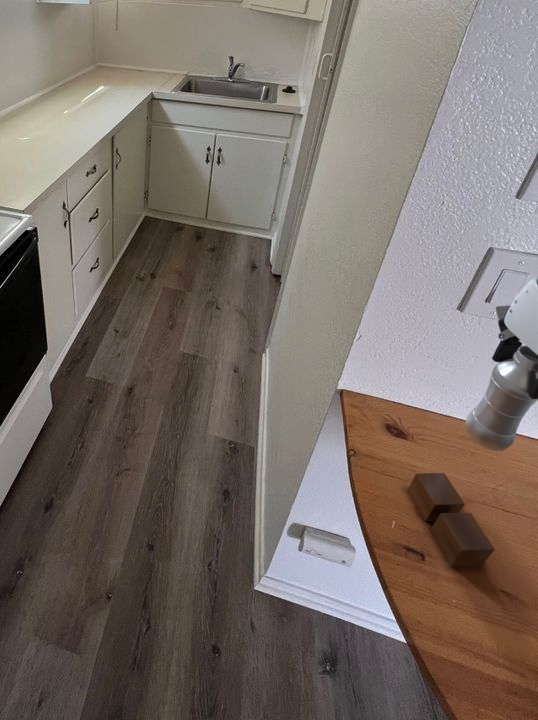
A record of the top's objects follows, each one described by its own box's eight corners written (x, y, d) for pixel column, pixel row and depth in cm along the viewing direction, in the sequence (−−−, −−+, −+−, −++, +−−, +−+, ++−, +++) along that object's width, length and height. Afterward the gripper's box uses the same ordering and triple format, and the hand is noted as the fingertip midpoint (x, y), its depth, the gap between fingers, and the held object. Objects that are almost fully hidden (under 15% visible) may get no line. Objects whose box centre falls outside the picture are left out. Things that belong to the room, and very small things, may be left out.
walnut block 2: (459, 529, 68) (470, 512, 66) (481, 566, 63) (495, 549, 61) (429, 530, 68) (440, 513, 65) (450, 566, 63) (462, 550, 61)
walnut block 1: (434, 489, 73) (444, 472, 71) (453, 520, 69) (465, 504, 67) (407, 490, 73) (416, 473, 71) (424, 521, 69) (435, 504, 66)
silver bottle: (516, 448, 72) (572, 363, 63) (490, 462, 70) (544, 376, 61) (477, 416, 78) (523, 334, 69) (452, 429, 76) (496, 345, 67)
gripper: (672, 331, 52) (597, 428, 60) (544, 252, 67) (499, 337, 75) (611, 332, 51) (545, 429, 59) (498, 252, 67) (457, 338, 75)
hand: (520, 377), depth 67 cm, fingers closed on silver bottle, 6 cm apart
